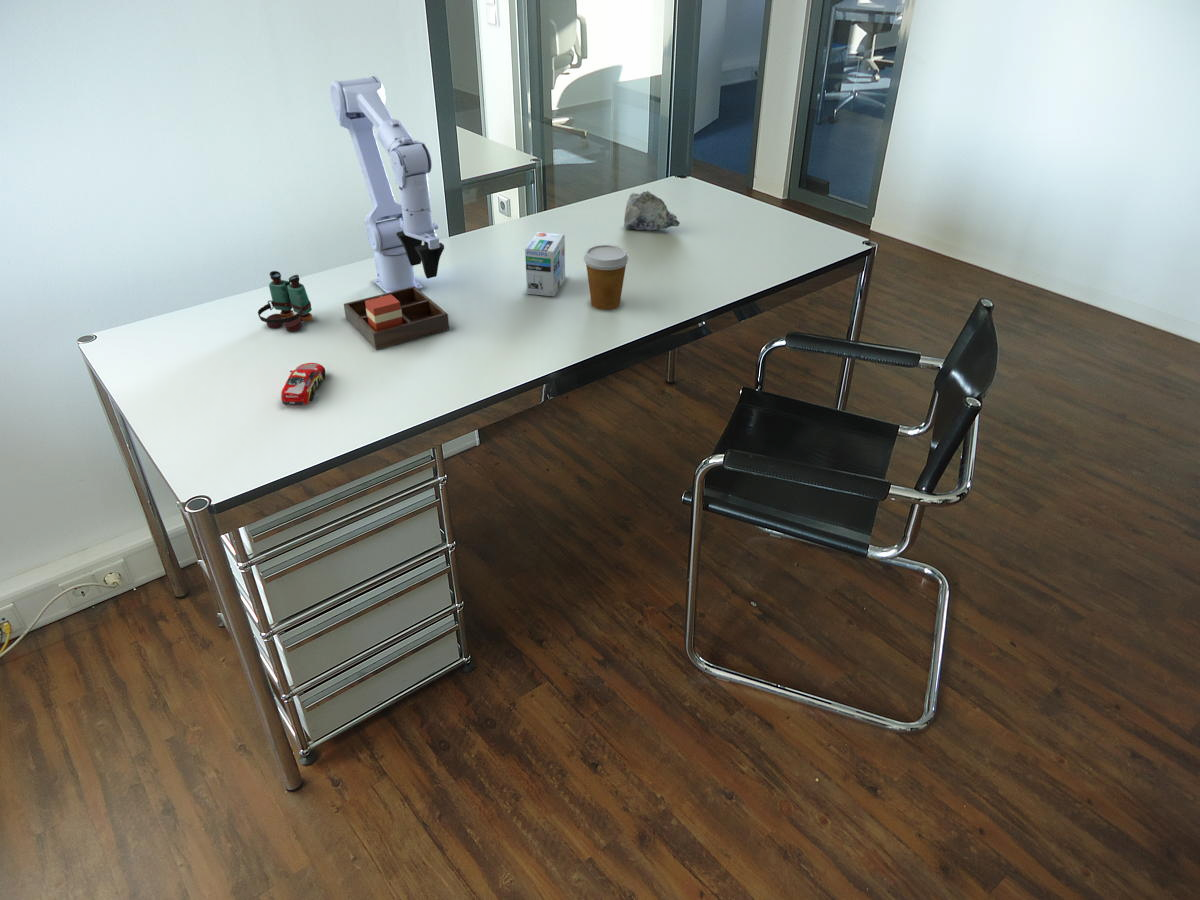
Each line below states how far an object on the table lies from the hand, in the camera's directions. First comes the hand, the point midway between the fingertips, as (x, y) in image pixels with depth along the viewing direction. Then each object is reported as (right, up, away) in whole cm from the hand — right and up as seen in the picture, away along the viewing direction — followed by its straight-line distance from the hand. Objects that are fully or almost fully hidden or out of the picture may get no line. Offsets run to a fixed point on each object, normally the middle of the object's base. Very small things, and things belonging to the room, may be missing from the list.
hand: (423, 270), depth 179 cm
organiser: (-6, -11, 0) cm, 13 cm away
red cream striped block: (-6, -14, -4) cm, 16 cm away
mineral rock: (+50, +20, +46) cm, 71 cm away
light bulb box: (+25, 0, +17) cm, 30 cm away
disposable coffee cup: (+38, -6, +9) cm, 40 cm away
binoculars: (-28, -12, 0) cm, 30 cm away
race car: (-17, -27, -21) cm, 38 cm away
